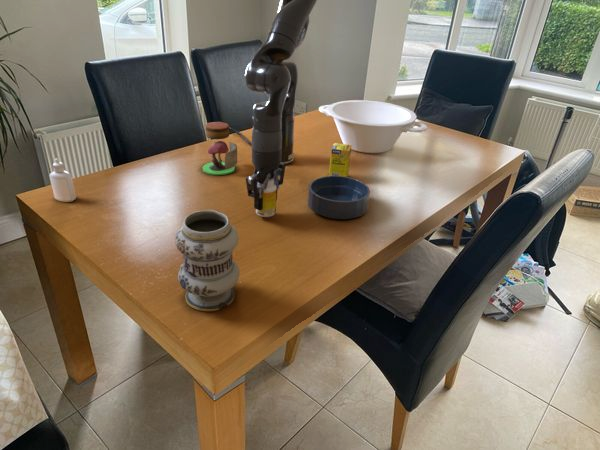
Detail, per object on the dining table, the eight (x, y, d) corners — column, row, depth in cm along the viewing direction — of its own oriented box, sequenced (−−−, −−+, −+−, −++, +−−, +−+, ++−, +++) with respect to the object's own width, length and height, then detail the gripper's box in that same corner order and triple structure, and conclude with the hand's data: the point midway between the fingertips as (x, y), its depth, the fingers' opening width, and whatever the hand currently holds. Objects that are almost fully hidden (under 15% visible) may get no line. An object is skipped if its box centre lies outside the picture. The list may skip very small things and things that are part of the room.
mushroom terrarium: (201, 178, 142) (198, 132, 135) (200, 163, 153) (198, 119, 146) (239, 176, 145) (238, 131, 137) (235, 162, 156) (234, 119, 148)
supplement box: (346, 183, 145) (349, 150, 140) (328, 180, 146) (330, 148, 140) (348, 175, 150) (351, 144, 145) (330, 173, 151) (333, 142, 145)
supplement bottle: (279, 215, 121) (280, 181, 116) (259, 219, 119) (260, 184, 114) (271, 206, 125) (272, 173, 120) (252, 210, 123) (252, 175, 118)
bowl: (296, 208, 128) (297, 189, 125) (327, 188, 140) (328, 171, 137) (349, 228, 120) (351, 208, 117) (377, 205, 132) (380, 186, 129)
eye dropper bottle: (62, 204, 123) (52, 164, 117) (53, 198, 126) (43, 157, 120) (78, 200, 126) (69, 159, 120) (69, 193, 129) (60, 154, 123)
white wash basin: (434, 146, 180) (440, 113, 174) (405, 173, 155) (411, 135, 148) (337, 124, 199) (340, 93, 192) (297, 145, 173) (298, 110, 167)
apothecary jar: (205, 324, 85) (199, 244, 76) (168, 295, 92) (158, 219, 83) (252, 296, 93) (251, 220, 84) (214, 271, 100) (211, 199, 91)
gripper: (272, 134, 119) (271, 191, 128) (236, 149, 109) (237, 210, 117) (295, 141, 116) (292, 199, 124) (260, 157, 105) (259, 219, 114)
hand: (265, 204), depth 121 cm, fingers closed on supplement bottle, 5 cm apart
